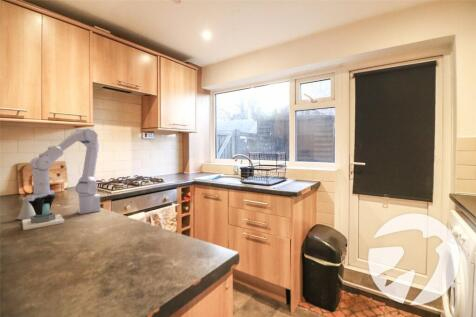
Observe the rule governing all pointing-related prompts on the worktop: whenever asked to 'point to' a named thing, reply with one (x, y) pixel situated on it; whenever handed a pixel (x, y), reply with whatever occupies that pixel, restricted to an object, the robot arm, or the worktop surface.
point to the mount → (42, 221)
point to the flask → (26, 210)
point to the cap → (45, 210)
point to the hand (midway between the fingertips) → (42, 213)
